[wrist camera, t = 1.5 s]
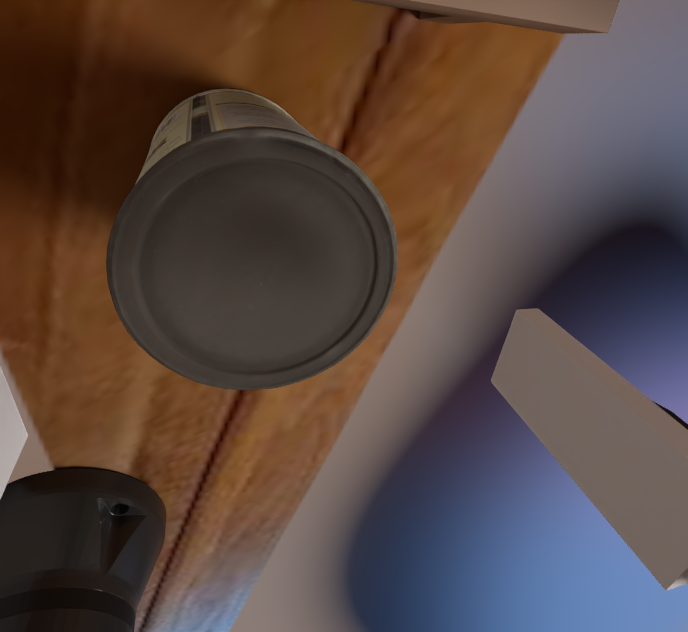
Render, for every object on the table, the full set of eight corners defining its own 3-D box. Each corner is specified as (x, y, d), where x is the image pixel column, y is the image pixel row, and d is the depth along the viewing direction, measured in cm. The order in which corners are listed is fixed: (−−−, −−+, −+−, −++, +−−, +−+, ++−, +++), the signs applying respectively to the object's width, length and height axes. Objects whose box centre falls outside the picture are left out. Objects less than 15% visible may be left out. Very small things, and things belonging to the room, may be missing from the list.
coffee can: (300, 263, 31) (360, 392, 20) (144, 244, 27) (107, 391, 16) (334, 110, 26) (437, 166, 15) (150, 63, 23) (102, 89, 11)
